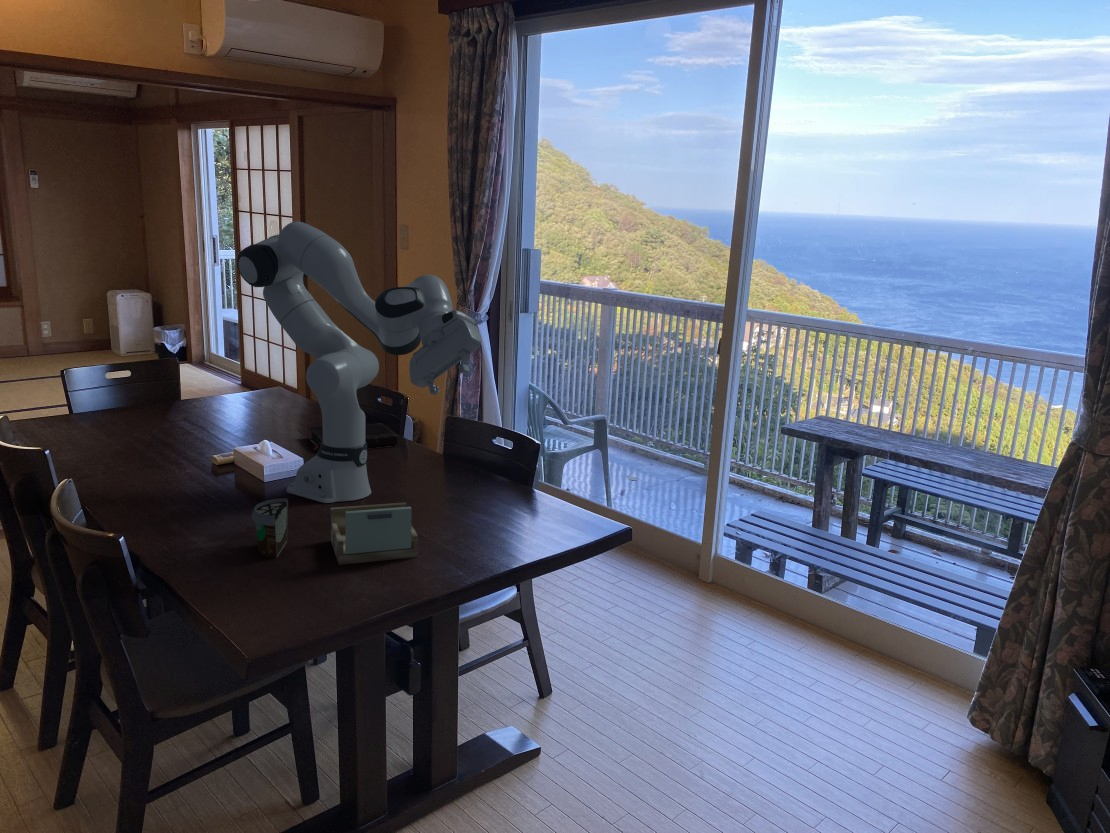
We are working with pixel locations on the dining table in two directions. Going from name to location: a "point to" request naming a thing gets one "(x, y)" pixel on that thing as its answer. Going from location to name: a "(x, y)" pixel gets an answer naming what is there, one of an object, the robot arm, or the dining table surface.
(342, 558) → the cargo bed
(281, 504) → the food container
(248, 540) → the dining table surface
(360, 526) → the panel
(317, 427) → the diary
